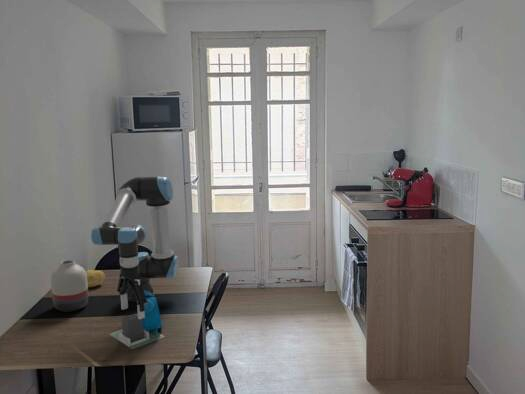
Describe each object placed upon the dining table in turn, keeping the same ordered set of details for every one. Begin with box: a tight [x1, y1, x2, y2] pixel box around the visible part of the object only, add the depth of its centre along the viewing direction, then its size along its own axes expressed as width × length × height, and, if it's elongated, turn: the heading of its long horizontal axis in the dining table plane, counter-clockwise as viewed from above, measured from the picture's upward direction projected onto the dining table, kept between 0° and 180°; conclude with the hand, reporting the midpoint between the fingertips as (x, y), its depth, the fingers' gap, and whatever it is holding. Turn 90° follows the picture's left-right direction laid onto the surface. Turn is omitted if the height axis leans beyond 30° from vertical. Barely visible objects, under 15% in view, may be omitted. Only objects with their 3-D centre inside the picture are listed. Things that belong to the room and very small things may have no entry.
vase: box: [50, 259, 89, 313], centre depth 255 cm, size 17×17×24 cm
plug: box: [121, 313, 143, 343], centre depth 216 cm, size 5×7×10 cm
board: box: [108, 329, 166, 350], centre depth 221 cm, size 20×16×1 cm
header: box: [118, 329, 149, 347], centre depth 217 cm, size 8×10×4 cm
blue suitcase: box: [136, 290, 163, 335], centre depth 226 cm, size 17×10×20 cm, turn 14°
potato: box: [85, 269, 106, 289], centre depth 285 cm, size 10×14×10 cm
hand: (132, 313), depth 216 cm, fingers open, 13 cm apart
